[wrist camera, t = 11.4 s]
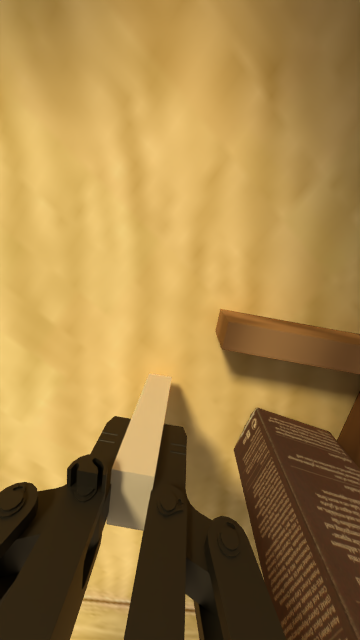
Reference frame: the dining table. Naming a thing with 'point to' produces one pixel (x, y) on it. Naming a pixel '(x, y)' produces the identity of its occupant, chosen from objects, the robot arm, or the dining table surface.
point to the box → (304, 524)
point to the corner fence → (297, 354)
